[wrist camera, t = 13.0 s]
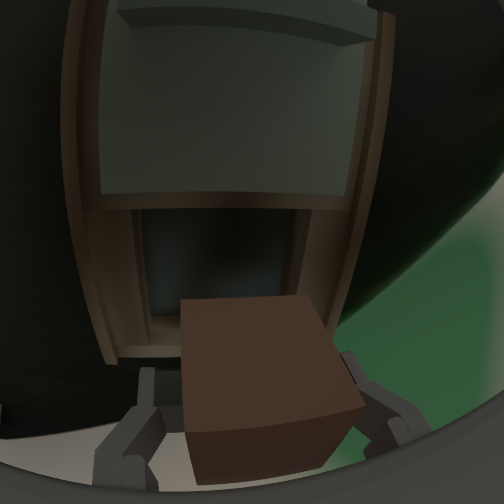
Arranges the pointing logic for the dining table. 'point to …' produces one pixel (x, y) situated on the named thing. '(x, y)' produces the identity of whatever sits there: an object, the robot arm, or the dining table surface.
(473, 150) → the dining table surface
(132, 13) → the cover
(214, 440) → the cube
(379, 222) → the dining table surface
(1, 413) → the supplement box
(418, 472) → the robot arm
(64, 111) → the wooden box
